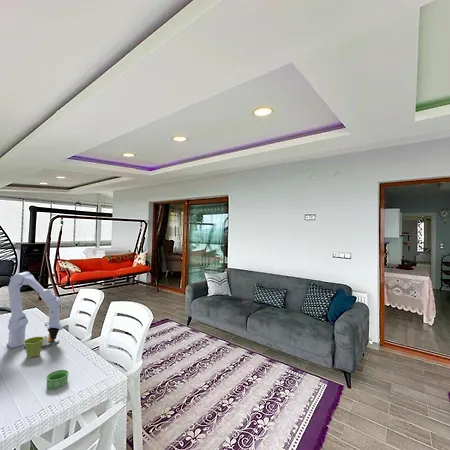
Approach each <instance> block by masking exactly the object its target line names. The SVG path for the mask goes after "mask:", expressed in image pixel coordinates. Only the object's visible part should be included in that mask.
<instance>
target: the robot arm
mask: <svg viewBox="0 0 450 450" xmlns="http://www.w3.org/2000/svg"><path fill="white" fill-rule="evenodd" d="M9 279H10V281H9V284H8V286H7V289H8V298H9V304H10V305H9V307H10V313H11V316H10V318H9V319H8V324H7V329H8V339H7V340H8V342H6V344H5V345H7V346H9V347H10V348H11V349H14V348H17V347H20V346H24V345H25V344H24V341H25V340H26V326H27V325H28V323H29V319H28V318H27V315H26V313H24V311H23V304H22V297H21V288H22V286H29V287H31V288H32V289H33V290H35V291H36V292H37V293H39V297H40V298H41V299H42V300H43V301H44V302H45V303H46V305H47V308H48V309H49V310H48V311H49V312H48V322H45V323H44V327H46V328H47V331H48V334H49V333H50V336H51V340H54V339H57V336H58V333H59V332H60V331H61V330H62V331H63V330H64V325H62V324H61V323H60V322H61V321H60V320H61V319H60V318H61V317H60V316H61V305H62V304H63V299H62V298H61V297H60V296H58V295H56V294H54V293H53V292H52V289H47V288H46V289H45V288H44V287H43V286H42V285H41V284H40V282H38V281H37V279H36V278H35V277H34V275H33V274H31V272H30V271H23V272H20V273H15V274H13V275H12V276H11V277H10V278H9Z"/></svg>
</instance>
